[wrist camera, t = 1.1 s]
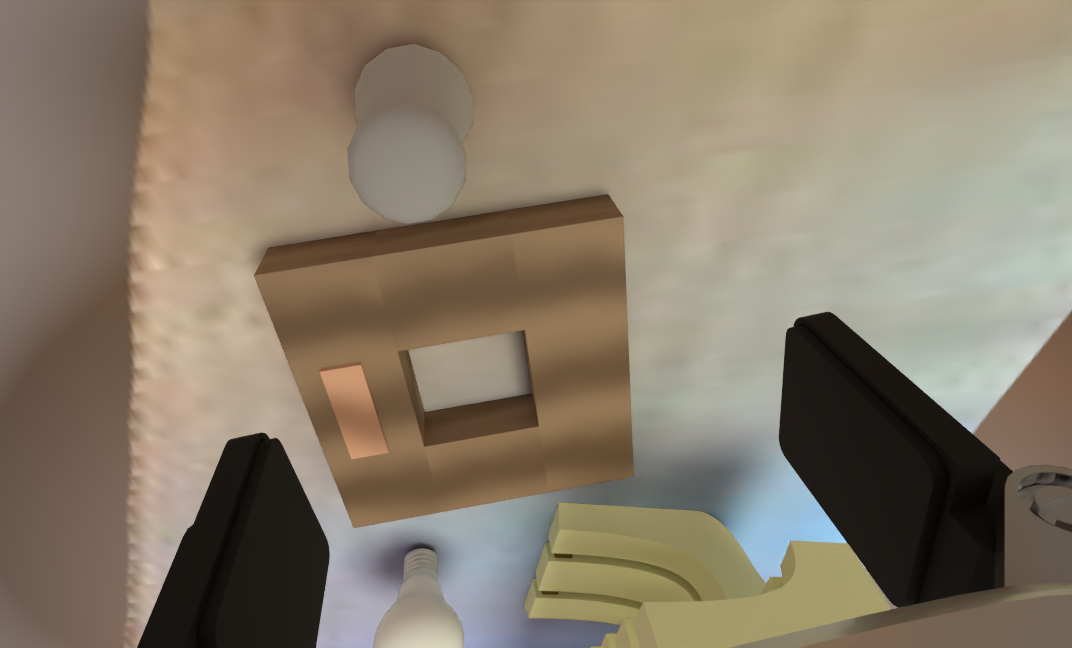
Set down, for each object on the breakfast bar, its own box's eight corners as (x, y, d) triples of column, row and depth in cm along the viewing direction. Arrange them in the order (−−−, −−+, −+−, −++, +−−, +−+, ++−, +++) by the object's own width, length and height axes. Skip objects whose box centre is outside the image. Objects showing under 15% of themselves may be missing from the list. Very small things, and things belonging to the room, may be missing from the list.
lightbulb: (449, 581, 54) (452, 716, 44) (374, 574, 52) (360, 713, 43) (469, 530, 51) (477, 663, 42) (390, 521, 49) (380, 657, 40)
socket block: (268, 248, 36) (252, 278, 33) (608, 194, 38) (624, 218, 34) (358, 490, 47) (353, 531, 44) (621, 443, 48) (634, 479, 45)
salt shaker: (468, 155, 35) (484, 254, 24) (362, 150, 34) (328, 250, 23) (472, 41, 32) (492, 95, 21) (356, 32, 31) (314, 83, 20)
